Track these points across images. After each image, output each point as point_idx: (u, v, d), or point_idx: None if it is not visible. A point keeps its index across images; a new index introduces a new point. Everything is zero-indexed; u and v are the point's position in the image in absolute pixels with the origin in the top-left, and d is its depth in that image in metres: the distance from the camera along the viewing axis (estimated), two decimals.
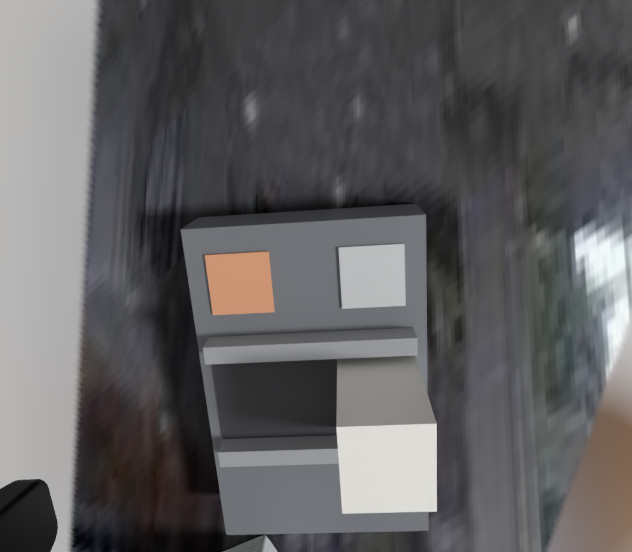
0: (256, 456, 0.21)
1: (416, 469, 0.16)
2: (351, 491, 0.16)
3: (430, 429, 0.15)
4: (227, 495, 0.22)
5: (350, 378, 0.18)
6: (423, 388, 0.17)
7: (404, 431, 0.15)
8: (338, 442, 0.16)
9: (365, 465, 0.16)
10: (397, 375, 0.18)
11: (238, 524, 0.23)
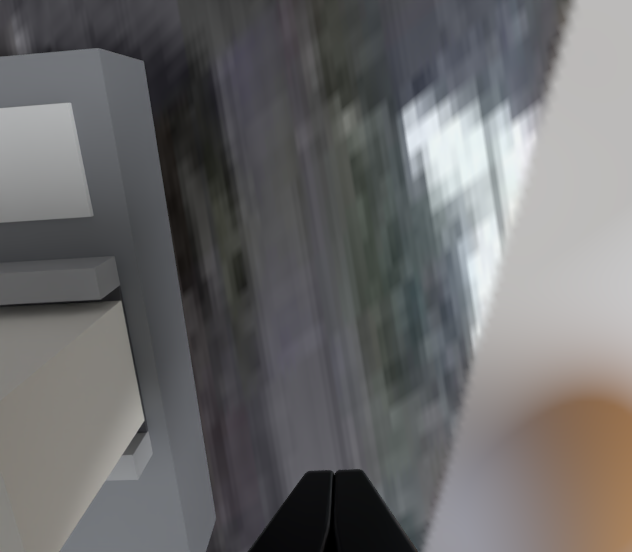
0: None
1: None
2: None
3: None
4: None
5: None
6: (56, 351, 0.09)
7: None
8: None
9: None
10: (46, 331, 0.10)
11: None
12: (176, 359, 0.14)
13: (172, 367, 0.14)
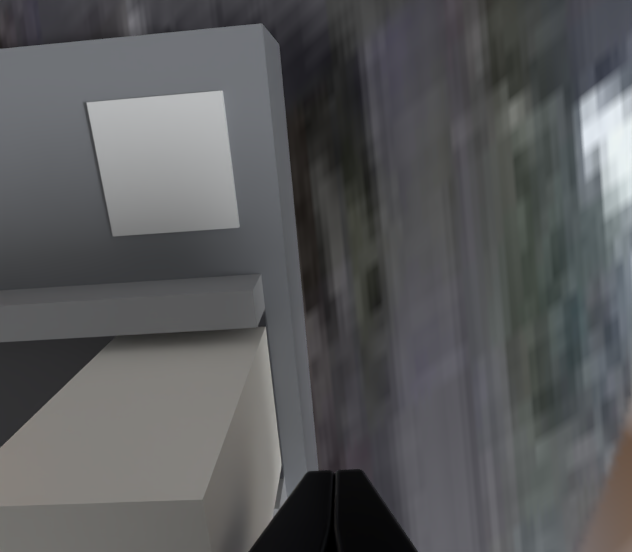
0: None
1: None
2: None
3: (188, 515, 0.06)
4: None
5: (100, 376, 0.09)
6: (235, 398, 0.07)
7: (119, 519, 0.06)
8: None
9: None
10: (202, 369, 0.08)
11: None
12: (306, 390, 0.12)
13: (305, 400, 0.12)
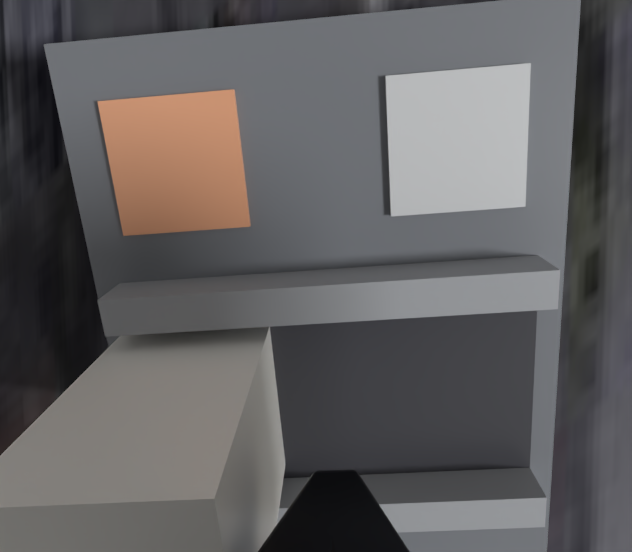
0: None
1: None
2: None
3: (200, 514, 0.06)
4: None
5: (105, 376, 0.08)
6: (242, 397, 0.07)
7: (131, 519, 0.06)
8: None
9: None
10: (208, 369, 0.08)
11: None
12: None
13: None
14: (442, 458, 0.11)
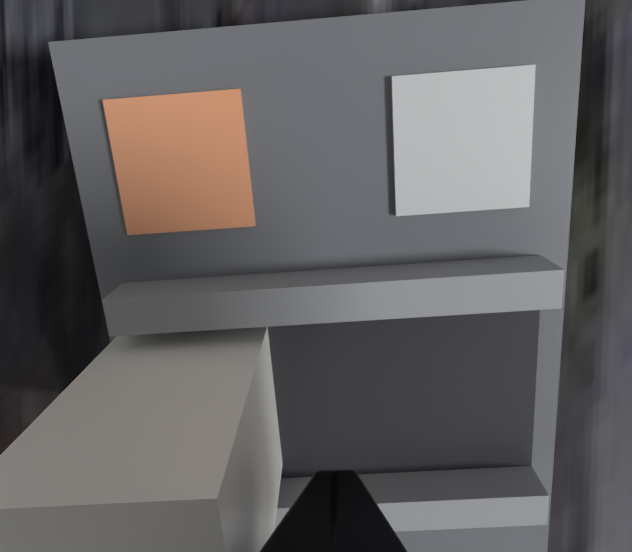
0: None
1: None
2: None
3: (202, 514, 0.06)
4: None
5: (103, 377, 0.08)
6: (242, 397, 0.07)
7: (132, 519, 0.06)
8: None
9: None
10: (206, 369, 0.08)
11: None
12: None
13: None
14: (444, 457, 0.11)
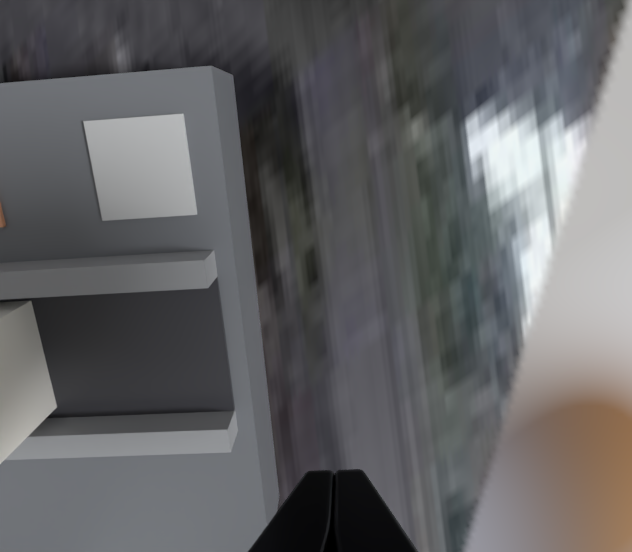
0: None
1: None
2: None
3: None
4: None
5: None
6: None
7: None
8: None
9: None
10: None
11: (5, 544, 0.16)
12: (255, 345, 0.15)
13: (254, 352, 0.15)
14: (168, 403, 0.14)
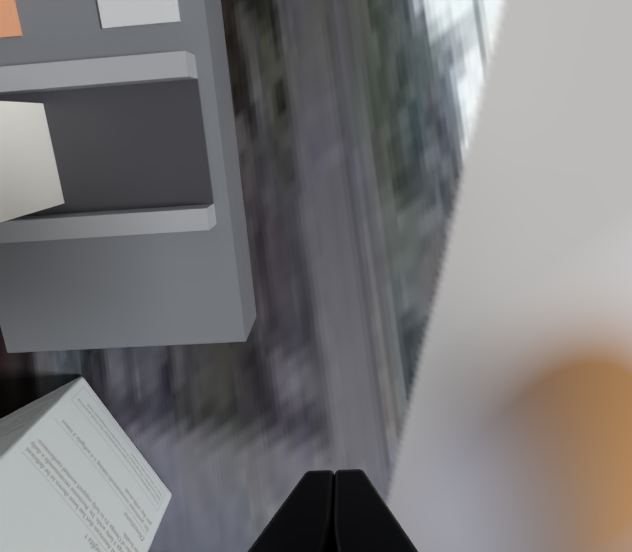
0: (12, 229, 0.17)
1: None
2: None
3: None
4: (1, 298, 0.18)
5: None
6: None
7: None
8: None
9: None
10: None
11: (20, 338, 0.19)
12: (232, 160, 0.18)
13: (230, 162, 0.18)
14: (158, 197, 0.17)
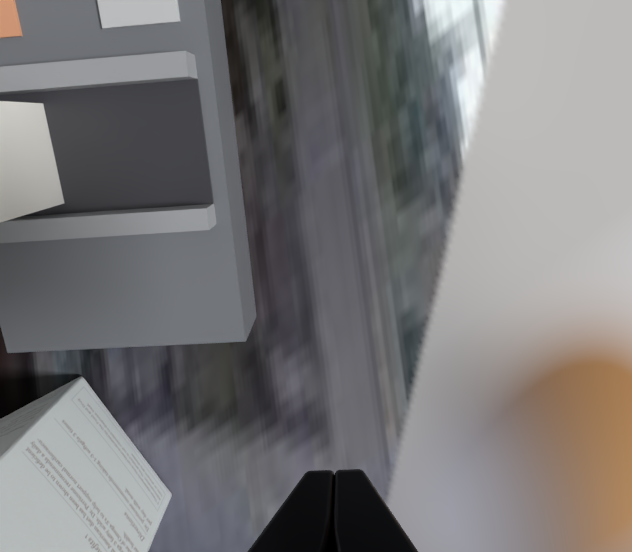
0: (12, 229, 0.17)
1: None
2: None
3: None
4: (1, 298, 0.18)
5: None
6: None
7: None
8: None
9: None
10: None
11: (20, 338, 0.19)
12: (232, 160, 0.18)
13: (230, 162, 0.18)
14: (158, 197, 0.17)
